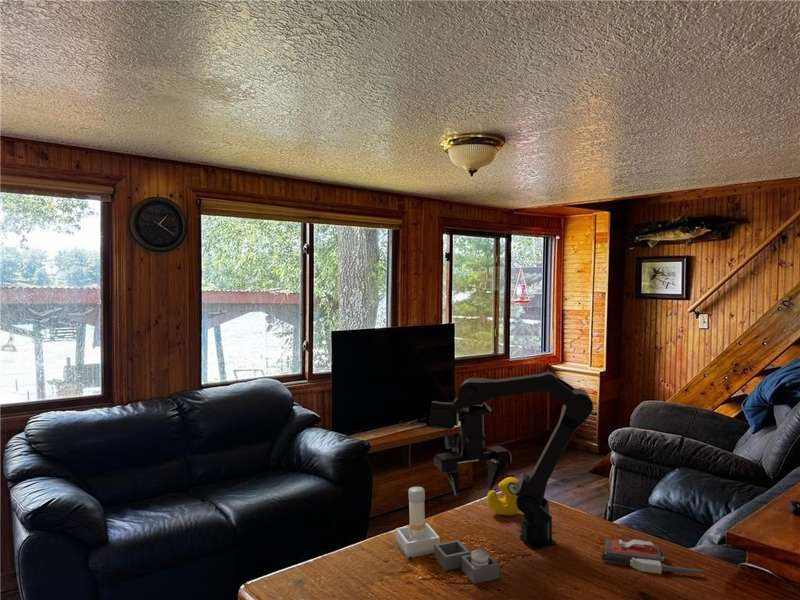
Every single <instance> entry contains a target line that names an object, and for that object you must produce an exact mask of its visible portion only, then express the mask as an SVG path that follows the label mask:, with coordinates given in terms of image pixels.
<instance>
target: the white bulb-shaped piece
mask: <svg viewBox="0 0 800 600" xmlns="http://www.w3.org/2000/svg"><path fill="white" fill-rule="evenodd" d="M425 498H426V497H425V488H424V487H421V486H411V487H410V488H409V489H408V501H409V502H408V504H409V505H408V509H409V510H408V511H409V525H408V526H410V533H409V534H410V542H411V541H416V540H422V539H425V523H426V520H425V519H426V517H425V500H426V499H425Z"/></svg>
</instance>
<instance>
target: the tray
mask: <svg viewBox="0 0 800 600" xmlns="http://www.w3.org/2000/svg"><path fill="white" fill-rule="evenodd" d="M409 533H410V525H408V526H402V527H397V528H395V543H396V545H397V546H398V547H399V549H400V550H401V552H402V551H403V552H402V553H403V554H405V555H404V556H405V558H406V559H410V558H409V557H412V558H416V557H415V556H417V557H422V556H425V555H426V556H427V555H431V553H432V554H435V552H434V545H435V544H440V543H441V538H440V536H439V535H438V534H437V533H436V531H435V530H434V529H433V528H432V527H431V526H430V525H429V523H428V522H425V539H422V540H416V541H411V542H410V534H409Z"/></svg>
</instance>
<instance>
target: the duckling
mask: <svg viewBox="0 0 800 600" xmlns="http://www.w3.org/2000/svg"><path fill="white" fill-rule="evenodd" d="M519 481H520V479H519V480H518V479H517V478H516V477H514V476H508V477H506V478H504V479H502V480H501V481H500V482H499V483H498V488H499V490H500V491H501V493H502V494H503V495H504V496H503V497H501V498H500V497H498V494H497V491H495V490H494V489H492V490H491V491H490V490H489V491H488V493H487V495H486V502H487V507H488V508H489V509H490V511H492V512H493V513H495V514H498V515H500V516H513V515H516V514H517V513H518V512H520V510H519V509H518V507H517V504H516V495H515V494H516V484H517V483H518V482H519Z"/></svg>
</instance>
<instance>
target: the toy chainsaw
mask: <svg viewBox="0 0 800 600" xmlns="http://www.w3.org/2000/svg"><path fill="white" fill-rule="evenodd" d="M604 549H605V550H604V551H605V553H602V554H601V555H600V559H601V560H602V561H606V562H607V563H609V564H615V565H622V566H623V565H624V566H630V567H631V568H633V569H635V570H638V571H639V572H644V573H653V574H657V573H658V574H657V575H662V572H673V573H681V574H688V573H690V574H697V575H699V574H700V575H702V574H703V572H702V570H700V569H695V568H689V567H688V568H687V567H679V566H670V565H667V564H665V563H663V562H664V561H665V557H664V550H663V549H660V548H659V546H658V545H656V544H654V543H653V542H652V541H649V540H642V539H635V538H634V539H631V540H629V541H623V539H618V540H612V539H605V540H604Z"/></svg>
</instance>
